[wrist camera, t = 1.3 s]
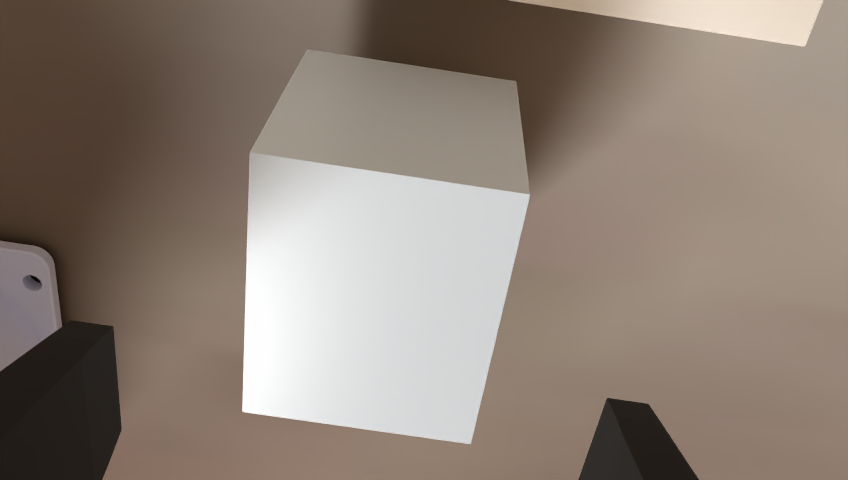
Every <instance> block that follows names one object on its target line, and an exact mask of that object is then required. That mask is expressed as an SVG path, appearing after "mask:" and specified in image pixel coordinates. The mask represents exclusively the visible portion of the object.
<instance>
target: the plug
mask: <svg viewBox="0 0 848 480" xmlns="http://www.w3.org/2000/svg"><path fill="white" fill-rule="evenodd" d="M529 197H530V189H529V181H528V173H527V164H526V156H525V148H524V140H523V132H522V124H521V115H520V107H519V99H518V91H517V83H516V81H512V80H505V79H499V78H492V77H486V76H479V75H473V74H466V73H460V72H453V71H447V70H440V69H434V68H427V67H421V66H414V65H408V64H401V63H395V62H388V61H382V60H375V59H369V58H362V57H356V56H349V55H343V54H336V53H330V52H323V51H317V50H310V49H307V50H306V52H305V54H304V56H303V57H302V59H301V61H300V63H299V65H298V66H297V68H296V70H295V72H294V74H293V75H292V77H291V79H290V81H289V83H288V84H287V86H286V88H285V90H284V92H283V93H282V95H281V97H280V99H279V101H278V102H277V104H276V106H275V108H274V110H273V111H272V113H271V115H270V117H269V119H268V120H267V122H266V124H265V126H264V128H263V129H262V131H261V133H260V135H259V137H258V138H257V140H256V142H255V144H254V146H253V147H252V149H251V151H250V160H249V195H248V231H247V266H246V301H245V337H244V372H243V408H242V412H247V413H254V414H261V415H268V416H275V417H282V418H289V419H297V420H304V421H311V422H318V423H325V424H332V425H339V426H346V427H353V428H360V429H367V430H374V431H381V432H388V433H395V434H403V435H410V436H417V437H424V438H431V439H438V440H445V441H452V442H459V443H466V444H471V441H472V436H473V432H474V428H475V424H476V420H477V415H478V411H479V407H480V403H481V399H482V394H483V390H484V386H485V382H486V378H487V374H488V369H489V365H490V361H491V357H492V353H493V348H494V344H495V340H496V336H497V332H498V327H499V323H500V319H501V315H502V311H503V306H504V302H505V298H506V294H507V290H508V286H509V281H510V277H511V273H512V269H513V265H514V260H515V256H516V252H517V248H518V244H519V239H520V235H521V231H522V227H523V223H524V218H525V214H526V210H527V206H528V202H529Z"/></svg>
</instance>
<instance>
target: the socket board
mask: <svg viewBox="0 0 848 480" xmlns="http://www.w3.org/2000/svg"><path fill="white" fill-rule="evenodd" d="M510 1H516V2H522V3H529V4H535V5H542V6H548V7H554V8H561V9H567V10H573V11H580V12H586V13H593V14H599V15H605V16H612V17H618V18H625V19H631V20H637V21H644V22H650V23H657V24H663V25H669V26H676V27H682V28H688V29H695V30H701V31H708V32H714V33H720V34H727V35H733V36H740V37H746V38H752V39H759V40H765V41H772V42H778V43H784V44H791V45H797V46H803V47H805V45H806V42H807V40H808V37H809V35H810V32H811V30H812V27H813V25H814V22H815V20H816V17H817V15H818V12H819V10H820V7H821V5H822V2H823V0H510Z"/></svg>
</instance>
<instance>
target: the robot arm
mask: <svg viewBox="0 0 848 480" xmlns="http://www.w3.org/2000/svg"><path fill="white" fill-rule="evenodd" d="M30 275H32V276H35V277H37V278H38V279H39V280H40V281H41V283H39V282H36V281H34V280H33V279H32V278H31V276H30ZM121 430H122V429H121V416H120V404H119V392H118V380H117V367H116V355H115V343H114V330H113V326H106V325H99V324H92V323H85V322H78V321H69V322H68V323H67V324H65V325H64V326H62V321H61V313H60V305H59V297H58V289H57V281H56V273H55V265H54V261H53V258H52V257H51V256H50V254H49V253H48V252H47V251H45V250H44V249H42V248H40V247H37V246H33V245H26V244H19V243H12V242H5V241H0V480H102V479H103V476H104V474H105V471H106V469H107V466H108V464H109V461H110V459H111V456H112V453H113V451H114V448H115V445H116V443H117V440H118V438H119V435H120V432H121ZM579 480H699V479H698V478H697V476H696V475H695V473H694V472H693V470H692V469H691V467H690V466H689V464H688V463H687V461H686V460H685V458H684V457H683V455H682V454H681V452H680V451H679V449H678V448H677V446H676V445H675V443H674V442H673V440H672V439H671V437H670V435H669V434H668V432H667V431H666V429H665V428H664V426H663V425H662V423H661V422H660V420H659V419H658V417H657V416H656V414H655V413H654V411H653V410H652V409H651V407H650V406H649V404H645V403H638V402H631V401H624V400H617V399H611V398H607V400H606V403H605V406H604V408H603V411H602V414H601V417H600V420H599V423H598V426H597V428H596V431H595V434H594V437H593V440H592V443H591V446H590V448H589V451H588V454H587V457H586V460H585V463H584V466H583V468H582V471H581V474H580V477H579Z"/></svg>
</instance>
